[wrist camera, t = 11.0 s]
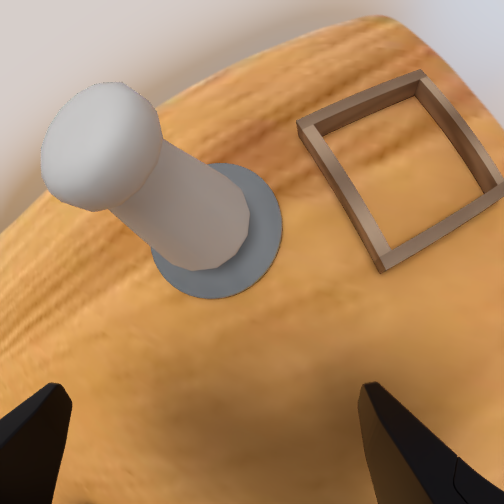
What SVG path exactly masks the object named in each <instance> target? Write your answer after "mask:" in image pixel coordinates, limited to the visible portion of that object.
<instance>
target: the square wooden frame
mask: <svg viewBox="0 0 504 504" xmlns="http://www.w3.org/2000/svg"><path fill="white" fill-rule="evenodd" d="M414 95H415V96H416V97H417V99H418V100H419V101H420V102H421V103H422V105H423V106H424V107H425V108H426V109H427V111H428V112H429V113H430V114H431V116H432V117H433V118H434V120H435V121H436V122H437V123H438V125H439V126H440V127H441V129H442V130H443V131H444V133H445V134H446V136H447V137H448V138H449V140H450V141H451V142H452V144H453V145H454V147H455V148H456V150H457V151H458V152H459V154H460V155H461V157H462V158H463V160H464V161H465V163H466V164H467V166H468V168H469V169H470V171H471V172H472V174H473V175H474V177H475V179H476V180H477V182H478V184H479V185H480V187H481V189H482V190H483V192H484V195H482V196H480V197H479V198H477V199H476V200H474V201H473V202H471V203H470V204H468V205H466V206H465V207H463V208H462V209H460V210H458V211H457V212H455V213H454V214H452V215H450V216H449V217H447V218H446V219H444V220H442V221H441V222H439V223H437V224H436V225H434V226H432V227H431V228H429V229H427V230H426V231H424V232H422V233H421V234H419V235H417V236H415V237H414V238H412V239H410V240H409V241H407V242H405V243H403V244H402V245H400V246H398V247H396V248H395V249H393V250H391V248H390V247H389V245H388V243H387V241H386V239H385V237H384V236H383V234H382V232H381V230H380V229H379V227H378V225H377V223H376V222H375V220H374V218H373V216H372V215H371V213H370V211H369V209H368V208H367V206H366V204H365V203H364V201H363V199H362V198H361V196H360V194H359V193H358V191H357V190H356V188H355V186H354V185H353V183H352V182H351V180H350V178H349V177H348V175H347V174H346V172H345V171H344V169H343V167H342V166H341V164H340V163H339V161H338V160H337V158H336V157H335V155H334V154H333V152H332V151H331V149H330V148H329V146H328V145H327V143H326V142H325V140H324V139H323V138H322V136H324V135H326V134H328V133H330V132H332V131H334V130H336V129H339V128H341V127H343V126H345V125H347V124H349V123H352V122H354V121H356V120H358V119H360V118H363V117H365V116H367V115H369V114H372V113H374V112H376V111H379V110H381V109H383V108H386V107H388V106H390V105H393V104H395V103H397V102H400V101H402V100H404V99H407V98H409V97H412V96H414ZM296 124H297V129H298V135H299V137H300V139H301V140H302V142H303V143H304V145H305V146H306V148H307V149H308V151H309V152H310V154H311V156H312V157H313V159H314V160H315V162H316V163H317V165H318V166H319V168H320V170H321V171H322V173H323V174H324V176H325V178H326V179H327V181H328V183H329V184H330V186H331V187H332V189H333V191H334V192H335V194H336V196H337V197H338V199H339V201H340V202H341V204H342V206H343V208H344V209H345V211H346V213H347V214H348V216H349V218H350V220H351V221H352V223H353V225H354V227H355V229H356V230H357V232H358V234H359V236H360V237H361V239H362V241H363V243H364V245H365V247H366V248H367V250H368V252H369V254H370V256H371V258H372V260H373V262H374V264H375V265H376V267H377V269H378V271H379V273H380V274H381V273H383V272H385V271H386V270H388V269H390V268H392V267H393V266H395V265H397V264H399V263H400V262H402V261H404V260H405V259H407V258H409V257H410V256H412V255H414V254H416V253H417V252H419V251H421V250H422V249H424V248H426V247H427V246H429V245H430V244H432V243H434V242H435V241H437V240H439V239H440V238H442V237H443V236H445V235H447V234H448V233H450V232H451V231H453V230H455V229H456V228H458V227H459V226H461V225H462V224H464V223H465V222H467V221H468V220H470V219H472V218H473V217H475V216H476V215H478V214H479V213H481V212H482V211H484V210H485V209H486V208H488V207H489V206H491V205H492V204H494V203H495V202H497V201H498V200H500V199H501V198H502V197H504V178H503V177H502V175H501V173H500V172H499V170H498V168H497V167H496V165H495V164H494V162H493V161H492V159H491V157H490V156H489V154H488V153H487V151H486V150H485V148H484V147H483V146H482V144H481V143H480V141H479V140H478V138H477V137H476V136H475V134H474V133H473V131H472V130H471V129H470V127H469V126H468V125H467V123H466V122H465V121H464V119H463V118H462V117H461V115H460V114H459V113H458V112H457V110H456V109H455V108H454V107H453V105H452V104H451V103H450V102H449V100H448V99H447V98H446V97H445V96H444V95H443V93H442V92H441V91H440V90H439V89H438V88H437V86H436V85H435V84H434V83H433V82H432V81H431V80H430V79H429V78H428V76H427V75H426V74H425V73H424V72H423V71H422V70H421V69H419V70H417V71H414V72H411V73H408V74H405V75H403V76H400V77H397V78H395V79H392V80H389V81H387V82H384V83H382V84H379V85H377V86H374V87H372V88H369V89H367V90H364V91H362V92H359V93H357V94H354V95H352V96H350V97H347V98H345V99H343V100H340V101H338V102H336V103H334V104H331V105H329V106H327V107H325V108H322V109H320V110H318V111H316V112H313V113H311V114H309V115H307V116H305V117H303V118H301V119H299V120H296Z"/></svg>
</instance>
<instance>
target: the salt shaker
mask: <svg viewBox="0 0 504 504" xmlns="http://www.w3.org/2000/svg"><path fill="white" fill-rule="evenodd" d="M41 175H42V178H43V181H44V183H45V185H46V186H47V188H48V190H49V192H50V193H51V194H52V195H53V196H55V197H56V198H57V199H58V200H60V201H61V202H64V203H67V204H70V205H73V206H76V207H79V208H82V209H85V210H88V211H91V212H95V211H101V210H105V209H109V210H110V211H111V212H112V213H113V214H114V215H115V216H116V217H118V218H119V219H120V220H121V221H122V222H123V223H124V224H125V225H127V226H128V227H129V228H130V229H131V230H132V231H133V232H135V233H136V234H137V235H138V236H139V237H140V238H142V239H143V240H144V241H145V242H146V243H147V244H149V245H150V246H151V247H152V248H153V249H154V250H156V251H157V252H158V253H159V254H160V255H161V256H163V257H164V258H165V259H166V260H167V261H169V262H170V263H171V264H172V265H175V266H178V267H181V268H184V269H187V270H190V271H196V270H205V269H213V268H218V267H219V266H220V265H222V264H223V263H225V262H226V261H227V260H229V259H230V258H232V257H233V256H234V255H236V253H237V252H238V250H239V248H240V247H241V245H242V244H243V242H244V240H245V239H246V237H247V236H248V227H249V217H250V212H249V209H248V206H247V203H246V200H245V197H244V194H243V192H242V190H241V189H240V188H239V187H238V186H237V185H236V184H234V183H233V182H232V181H231V180H230V179H229V178H227V177H226V176H225V175H223V174H221V173H220V172H218V171H216V170H215V169H213V168H211V167H210V166H208V165H206V164H205V163H203V162H201V161H199V160H198V159H196V158H194V157H193V156H191V155H189V154H187V153H186V152H184V151H182V150H181V149H179V148H177V147H175V146H174V145H172V144H171V143H169V142H168V141H166V140H164V139H163V135H162V131H161V127H160V122H159V118H158V114H157V111H156V110H155V109H154V107H153V106H152V105H151V103H150V102H149V101H148V100H147V99H145V98H144V97H143V96H141V95H140V94H139V93H137V92H136V91H135V90H133V89H132V88H130V87H129V86H127V85H126V84H124V83H123V82H110V83H109V82H108V83H99V84H95V85H93V86H91V87H89V88H87V89H85V90H83V91H81V92H79V93H77V94H76V95H75V96H74V97H73V98H72V99H71V100H69V102H67V103H66V104H65V105H64V106H63V107H62V108H61V109H60V111H59V112H58V114H57V115H56V117H55V118H54V120H53V121H52V123H51V124H50V126H49V127H48V130H47V133H46V136H45V138H44V141H43V144H42V147H41Z"/></svg>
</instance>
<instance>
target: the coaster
mask: <svg viewBox="0 0 504 504" xmlns="http://www.w3.org/2000/svg"><path fill="white" fill-rule="evenodd" d="M208 166H210V167H211V168H213V169H215V170H216V171H218V172H220V173H221V174H223V175H225V176H226V177H227V178H229V179H230V180H231V181H232V182H233V183H234V184H236V185H237V186H238V187H239V188H240V189H241V190H242V192H243V194H244V197H245V200H246V203H247V206H248V209H249V212H250V217H249V227H248V236H247V237H246V239H245V240H244V242H243V244H242V245H241V247H240V248H239V250H238V252H237V253H236V255H234V256H233V257H232V258H230V259H229V260H227V261H226V262H225V263H223V264H222V265H220V266H219V267H218V268H213V269H205V270H196V271H190V270H187V269H184V268H181V267H178V266H175V265H172V264H171V263H170V262H169V261H167V260H166V259H165V258H164V257H163V256H161V255H160V254H159V253H158V252H157V251H156V250H154V249H153V248H152V247H151V252H152V255H153V258H154V261H155V263H156V266H157V268H158V269H159V271H160V272H161V274H162V275H163V277H164V278H165V279H166V280H167V281H168V282H169V283H170V284H171V285H172V286H174V287H175V288H177V289H178V290H180V291H181V292H184V293H186V294H188V295H191V296H194V297H199V298H207V299H219V298H226V297H230V296H233V295H236V294H238V293H241V292H243V291H245V290H246V289H248V288H250V287H251V286H253V285H254V284H255V283H256V282H257V281H259V280H260V279H261V278H262V277H263V275H264V274H265V273H266V272H267V271H268V269H269V268H270V267H271V265H272V263H273V261H274V260H275V258H276V256H277V253H278V250H279V248H280V243H281V239H282V230H283V228H282V216H281V211H280V208H279V205H278V202H277V200H276V198H275V196H274V194H273V192H272V190H271V189H270V188H269V186H268V185H267V184H266V183H265V182H264V180H263V179H262V178H260V177H259V176H258V175H257V174H255V173H254V172H252V171H250V170H249V169H246V168H244V167H241V166H238V165H234V164H227V163H215V164H208Z"/></svg>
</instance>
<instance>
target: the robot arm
mask: <svg viewBox="0 0 504 504" xmlns="http://www.w3.org/2000/svg"><path fill="white" fill-rule="evenodd" d="M71 411H72V401H71V399H70V397H69V396H68V394H67V392H66V391H65V389H64V387H63V386H62V385H61V384H59V383H52V382H51V383H48V384H47V385H46V386H44V387H43V388H42V389H40V390H39V391H38V392H36V393H35V394H33V395H32V396H31V397H29V398H28V399H27V400H25V401H24V402H23V403H21V404H20V405H19V406H17V407H16V408H15V409H13V410H12V411H11V412H9V413H8V414H7V415H6V416H4V417H3V418H2V419H0V504H52V500H53V495H54V490H55V486H56V481H57V477H58V473H59V469H60V465H61V461H62V457H63V453H64V449H65V445H66V439H67V433H68V427H69V422H70V416H71ZM358 413H359V419H360V425H361V431H362V438H363V445H364V451H365V456H366V460H367V464H368V467H369V471H370V475H371V479H372V482H373V486H374V490H375V494H376V497H377V501H378V504H504V491H502V490H501V489H499V488H498V487H496V486H495V485H493V484H492V483H490V482H489V481H488V480H486V479H485V478H484V477H482V476H481V475H480V474H478V473H477V472H476V471H475V470H474V469H472V468H471V467H470V466H469V465H468V464H467V463H465V462H464V461H463V460H462V459H461V458H460V457H457V454H455V453H454V452H453V451H452V450H451V449H450V448H449V447H448V446H447V445H446V444H444V443H443V442H442V441H441V440H440V439H439V438H438V437H437V436H436V435H435V434H434V433H432V432H431V431H430V430H429V429H428V428H427V427H426V426H425V425H424V424H423V423H422V422H420V421H419V420H418V419H417V418H416V417H415V416H414V415H413V414H412V413H411V412H410V411H409V410H407V409H406V408H405V407H404V406H403V405H402V404H401V403H400V402H399V401H398V400H397V399H396V398H394V397H393V396H392V395H391V394H390V393H389V392H388V391H387V390H386V389H385V388H384V387H383V386H381V385H380V384H379V383H378V382H369V383H364V384H363V385H362V387H361V391H360V395H359V399H358Z"/></svg>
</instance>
